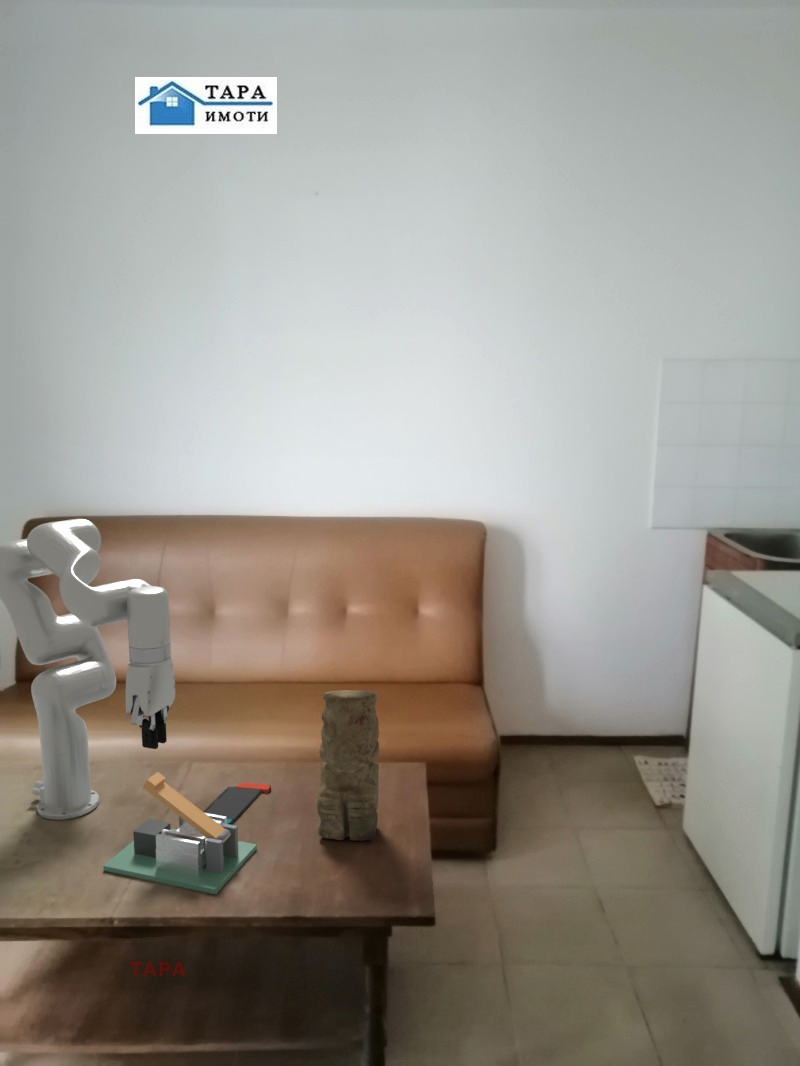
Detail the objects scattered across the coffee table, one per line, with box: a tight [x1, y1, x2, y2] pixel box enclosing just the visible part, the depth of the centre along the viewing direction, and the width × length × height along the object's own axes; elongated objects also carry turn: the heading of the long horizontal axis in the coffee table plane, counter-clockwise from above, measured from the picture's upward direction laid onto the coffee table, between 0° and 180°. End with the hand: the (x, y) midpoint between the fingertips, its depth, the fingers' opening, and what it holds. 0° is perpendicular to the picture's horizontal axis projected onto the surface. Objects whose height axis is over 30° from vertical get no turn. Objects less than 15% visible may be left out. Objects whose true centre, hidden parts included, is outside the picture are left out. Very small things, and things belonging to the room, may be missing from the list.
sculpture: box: [316, 689, 380, 842], centre depth 172 cm, size 12×9×30 cm
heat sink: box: [156, 813, 227, 877], centre depth 163 cm, size 9×11×6 cm
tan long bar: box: [142, 771, 231, 843], centre depth 162 cm, size 19×4×2 cm, turn 73°
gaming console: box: [202, 782, 272, 825], centre depth 186 cm, size 19×1×10 cm
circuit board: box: [103, 818, 258, 895], centre depth 164 cm, size 24×16×7 cm, turn 72°
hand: (154, 744), depth 162 cm, fingers closed
